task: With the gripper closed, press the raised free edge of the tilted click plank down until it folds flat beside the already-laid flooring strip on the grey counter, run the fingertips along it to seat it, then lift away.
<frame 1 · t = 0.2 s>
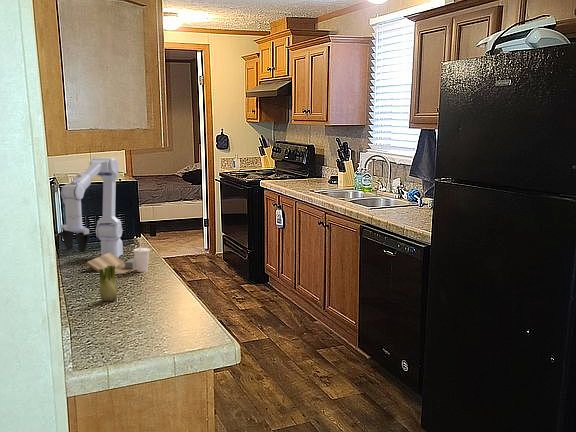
hand: (75, 250, 208), 10 cm above the worktop, tool pointing down, fingers open, 7 cm apart
fennel bulb: (109, 301, 181), on the worktop
laid strip: (124, 270, 217), on the worktop
click plank: (106, 263, 218), point 3 cm above the worktop, hinge at 28.0°
smoothie: (142, 273, 214), on the worktop
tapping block: (132, 266, 219), point 1 cm above the worktop, touching laid strip
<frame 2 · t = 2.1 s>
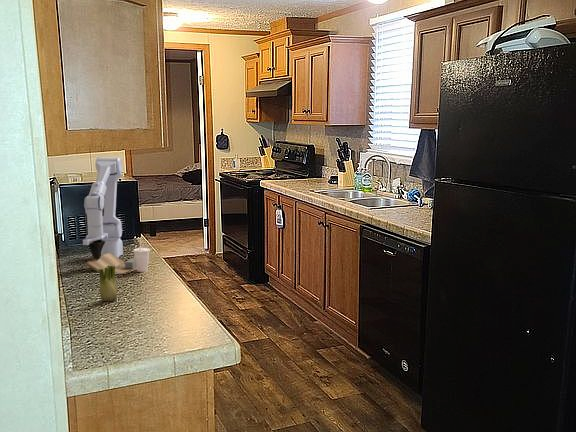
hand: (96, 258, 217), 5 cm above the worktop, tool pointing down, fingers closed, pressing on click plank
click plank: (106, 263, 218), point 3 cm above the worktop, hinge at 27.2°, touching gripper
everything else where it was.
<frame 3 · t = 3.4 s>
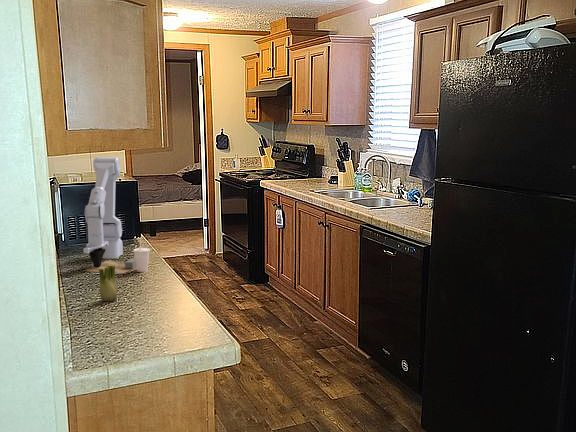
hand: (97, 267, 217), 1 cm above the worktop, tool pointing down, fingers closed, pressing on click plank
click plank: (105, 267, 219), point 1 cm above the worktop, hinge at 1.9°, touching gripper
everything else where it was.
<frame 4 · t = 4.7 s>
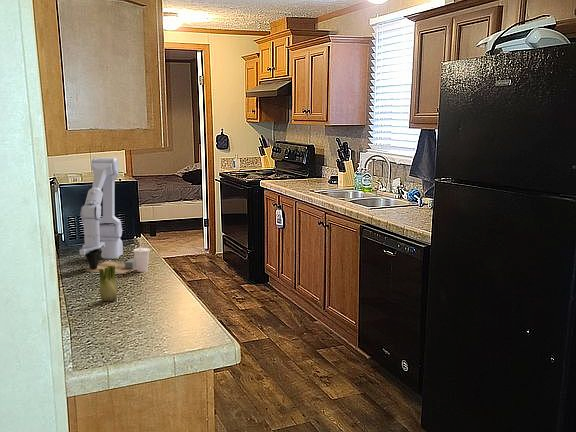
hand: (93, 268, 215), 1 cm above the worktop, tool pointing down, fingers closed
click plank: (105, 267, 219), point 1 cm above the worktop, hinge at 0.8°
everything else where it was.
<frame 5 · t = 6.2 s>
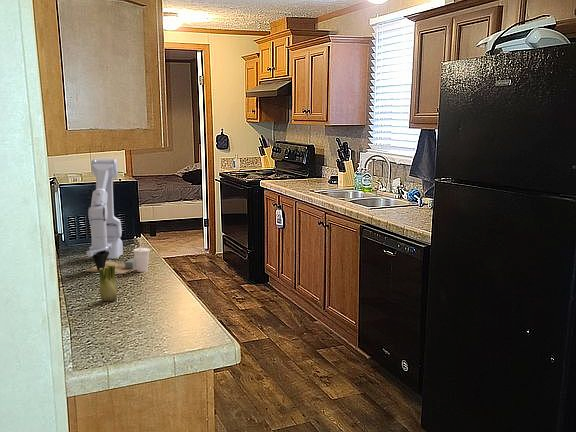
hand: (100, 270, 213), 1 cm above the worktop, tool pointing down, fingers closed
nothing on the worktop moved.
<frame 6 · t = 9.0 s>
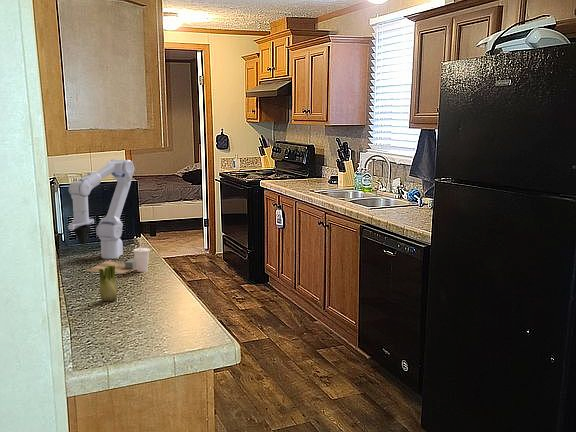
hand: (82, 243, 219), 10 cm above the worktop, tool pointing down, fingers closed
nothing on the worktop moved.
at the end: click plank at +1° (first picture: +28°); click plank touching nothing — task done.
